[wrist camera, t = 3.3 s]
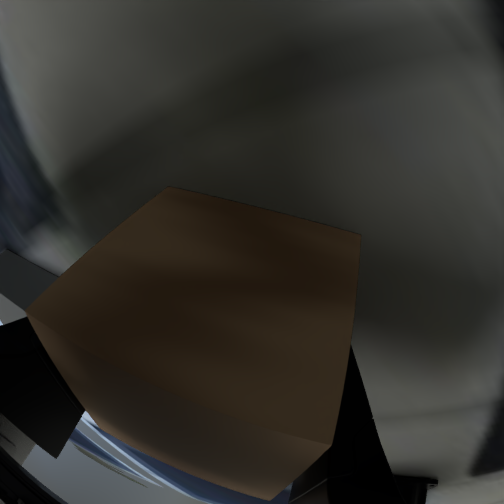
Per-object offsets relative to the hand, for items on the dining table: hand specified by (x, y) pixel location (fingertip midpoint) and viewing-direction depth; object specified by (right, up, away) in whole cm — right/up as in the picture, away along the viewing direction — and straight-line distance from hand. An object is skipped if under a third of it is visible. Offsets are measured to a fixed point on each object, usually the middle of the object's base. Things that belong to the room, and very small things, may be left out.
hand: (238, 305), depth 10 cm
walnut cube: (0, +1, +1) cm, 1 cm away
